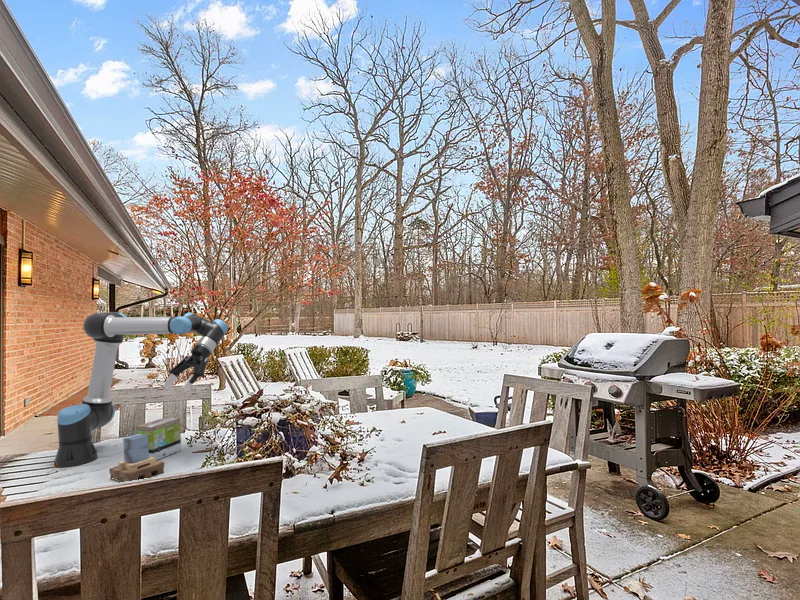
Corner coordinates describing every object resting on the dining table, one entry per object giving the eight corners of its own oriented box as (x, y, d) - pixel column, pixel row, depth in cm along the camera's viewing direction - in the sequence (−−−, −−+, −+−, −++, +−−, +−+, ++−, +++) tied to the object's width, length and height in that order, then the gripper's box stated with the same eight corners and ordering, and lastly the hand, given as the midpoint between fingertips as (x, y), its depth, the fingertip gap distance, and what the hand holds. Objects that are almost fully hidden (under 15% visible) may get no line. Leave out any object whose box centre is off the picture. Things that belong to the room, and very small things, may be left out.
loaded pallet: (118, 467, 176) (116, 438, 177) (141, 460, 184) (140, 432, 184) (131, 470, 172) (130, 441, 172) (155, 462, 180) (153, 434, 180)
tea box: (155, 462, 194) (153, 426, 194) (136, 460, 197) (134, 426, 197) (182, 450, 208) (180, 417, 208) (164, 449, 211) (162, 417, 211)
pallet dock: (110, 479, 176) (109, 468, 176) (143, 467, 187) (143, 457, 187) (130, 484, 169) (130, 473, 169) (164, 472, 180) (163, 462, 180)
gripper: (227, 354, 205) (199, 395, 192) (191, 353, 218) (163, 392, 205) (216, 343, 201) (187, 384, 188) (180, 343, 213) (151, 382, 200)
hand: (174, 388), depth 196 cm, fingers open, 13 cm apart
